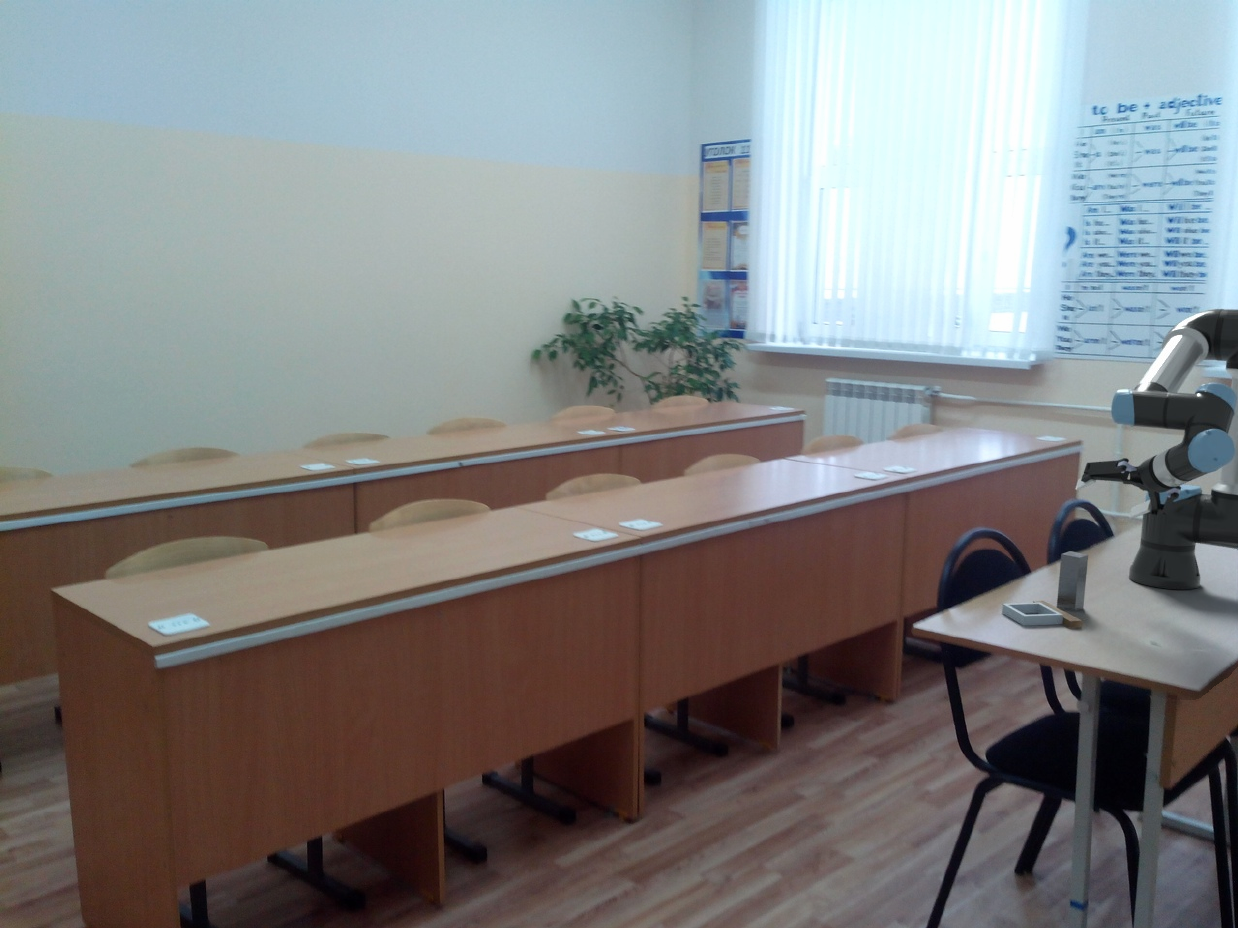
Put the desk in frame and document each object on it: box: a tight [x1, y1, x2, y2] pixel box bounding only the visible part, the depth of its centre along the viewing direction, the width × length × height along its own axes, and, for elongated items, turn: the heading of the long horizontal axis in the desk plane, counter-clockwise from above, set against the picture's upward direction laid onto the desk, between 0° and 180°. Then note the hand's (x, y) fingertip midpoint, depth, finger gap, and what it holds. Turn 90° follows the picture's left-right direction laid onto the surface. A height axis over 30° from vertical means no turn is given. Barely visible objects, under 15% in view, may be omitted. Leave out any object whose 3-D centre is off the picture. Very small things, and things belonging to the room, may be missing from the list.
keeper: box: [1001, 602, 1063, 627], centre depth 220 cm, size 9×9×2 cm
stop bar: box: [1056, 550, 1089, 613], centre depth 227 cm, size 4×4×12 cm
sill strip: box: [1032, 600, 1083, 629], centre depth 221 cm, size 2×14×2 cm, turn 9°
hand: (1104, 499), depth 235 cm, fingers open, 13 cm apart
